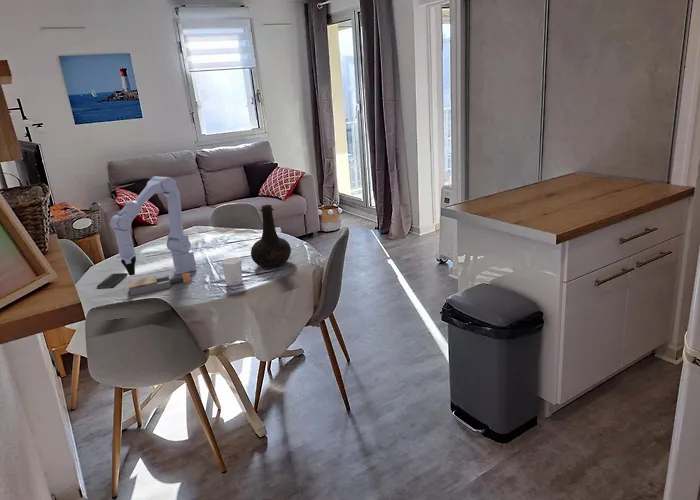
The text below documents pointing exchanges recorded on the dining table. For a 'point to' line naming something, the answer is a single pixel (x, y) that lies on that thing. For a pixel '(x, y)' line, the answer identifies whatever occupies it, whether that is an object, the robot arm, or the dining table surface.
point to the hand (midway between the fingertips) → (132, 274)
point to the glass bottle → (270, 244)
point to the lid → (142, 282)
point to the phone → (112, 280)
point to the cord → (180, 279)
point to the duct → (152, 286)
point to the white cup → (232, 271)
